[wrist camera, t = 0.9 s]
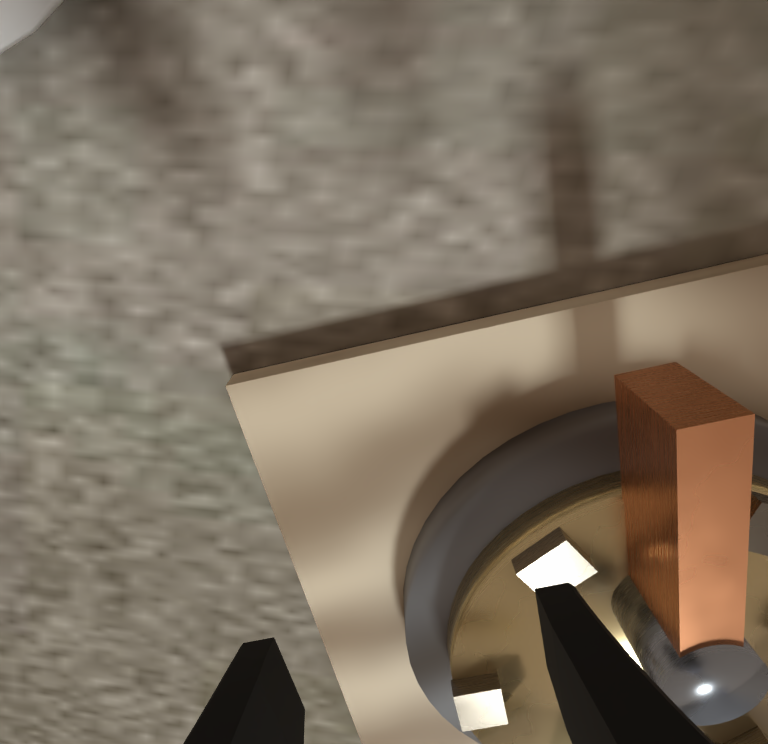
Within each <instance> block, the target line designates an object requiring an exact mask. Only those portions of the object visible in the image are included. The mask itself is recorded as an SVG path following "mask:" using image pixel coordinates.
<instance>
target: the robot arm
mask: <svg viewBox="0 0 768 744" xmlns="http://www.w3.org/2000/svg"><path fill="white" fill-rule="evenodd" d="M535 594H536V601H537V607H538V614H539V620H540V626H541V633H542V639H543V646H544V652H545V658H546V665H547V669H548V672H549V675H550V679H551V682H552V685H553V688H554V692H555V695H556V698H557V701H558V704H559V708H560V711H561V714H562V717H563V720H564V723H565V727H566V730H567V732H568V735H569V737H570V740H571V742H572V744H715V743H714V742H713V741H712V740H711V739H710V738H709V737H708V736H707V735H705V734H704V733H703V732H702V731H701V730H700V729H699V728H698V727H697V726H696V725H695V724H694V723H693V722H692V721H691V720H690V719H689V718H688V717H687V716H686V715H685V713H684V712H683V711H682V710H681V709H680V708H679V707H678V706H677V705H676V704H675V703H674V702H673V701H672V700H671V699H670V698H669V697H668V696H667V695H666V694H665V693H664V692H663V690H662V689H661V688H660V687H659V686H658V685H657V684H656V683H655V682H654V681H653V680H652V679H651V678H650V676H649V675H648V674H647V673H646V672H645V671H644V670H643V669H642V668H641V667H640V666H639V665H638V664H637V662H636V661H635V660H634V659H633V658H632V657H631V656H630V655H629V653H628V652H627V651H626V650H625V649H624V648H623V647H622V645H621V644H620V643H619V642H618V641H617V639H616V638H615V637H614V636H613V635H612V634H611V632H610V631H609V630H608V629H607V628H606V626H605V625H604V624H603V623H602V622H601V620H600V619H599V618H598V617H597V615H596V614H595V613H594V612H593V610H592V609H591V608H590V606H589V605H588V604H587V602H586V601H585V600H584V599H583V597H582V596H581V595H580V593H579V592H578V590H577V589H576V587H575V586H573V585H572V584H570V583H562V584H557V585H552V586H546V587H541V588H536V589H535ZM304 719H305V708H304V706H303V704H302V701H301V699H300V697H299V694H298V692H297V690H296V687H295V685H294V683H293V680H292V678H291V676H290V673H289V671H288V669H287V666H286V664H285V662H284V659H283V657H282V655H281V652H280V650H279V648H278V645H277V643H276V641H275V639H274V638H268V639H263V640H258V641H252V642H247V643H243V644H242V646H241V647H240V649H239V650H238V652H237V654H236V656H235V657H234V659H233V661H232V662H231V664H230V666H229V667H228V669H227V671H226V673H225V674H224V676H223V678H222V680H221V681H220V683H219V685H218V686H217V688H216V690H215V692H214V693H213V695H212V697H211V698H210V700H209V702H208V704H207V705H206V707H205V709H204V710H203V712H202V714H201V715H200V717H199V719H198V720H197V722H196V724H195V726H194V727H193V729H192V730H191V732H190V734H189V735H188V737H187V739H186V740H185V742H184V744H304Z"/></svg>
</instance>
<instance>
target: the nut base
mask: <svg viewBox="0 0 768 744" xmlns="http://www.w3.org/2000/svg"><path fill="white" fill-rule="evenodd" d="M672 362H677V363H678V364H680V365H681V366H683V367H685V368H686V369H688V370H689V371H691V372H692V373H694V374H695V375H697V376H698V377H700V378H701V379H703V380H704V381H706V382H707V383H709V384H710V385H712V386H713V387H715V388H716V389H718V390H720V391H721V392H723V393H724V394H726V395H727V396H729V397H730V398H732V399H733V400H735V401H736V402H738V403H739V404H741V405H742V406H744V407H745V408H747V409H748V410H750V411H751V412H753V413H755V425H754V445H753V466H752V474H754V475H756V476H759V477H762V478H765V479H767V480H768V254H765V255H761V256H757V257H752V258H748V259H743V260H739V261H734V262H730V263H725V264H721V265H717V266H712V267H708V268H703V269H699V270H694V271H690V272H686V273H681V274H677V275H672V276H668V277H663V278H659V279H654V280H650V281H646V282H641V283H637V284H632V285H628V286H623V287H619V288H614V289H610V290H606V291H601V292H597V293H592V294H588V295H583V296H579V297H575V298H570V299H566V300H561V301H557V302H552V303H548V304H543V305H539V306H535V307H530V308H526V309H521V310H517V311H512V312H508V313H503V314H499V315H495V316H490V317H486V318H481V319H477V320H472V321H468V322H464V323H459V324H455V325H450V326H446V327H441V328H437V329H432V330H428V331H424V332H419V333H415V334H410V335H406V336H401V337H397V338H393V339H388V340H384V341H379V342H375V343H370V344H366V345H361V346H357V347H353V348H348V349H344V350H339V351H335V352H330V353H326V354H321V355H317V356H313V357H308V358H304V359H299V360H295V361H290V362H286V363H282V364H277V365H273V366H268V367H264V368H259V369H255V370H250V371H246V372H242V373H237V374H233V376H232V377H231V379H230V380H229V382H228V383H227V385H226V388H227V391H228V394H229V396H230V399H231V402H232V404H233V407H234V409H235V412H236V415H237V417H238V420H239V423H240V425H241V428H242V430H243V433H244V436H245V438H246V441H247V443H248V446H249V449H250V451H251V454H252V457H253V459H254V462H255V464H256V467H257V470H258V472H259V475H260V478H261V480H262V483H263V485H264V488H265V491H266V493H267V496H268V499H269V501H270V504H271V506H272V509H273V512H274V514H275V517H276V520H277V522H278V525H279V527H280V530H281V533H282V535H283V538H284V540H285V543H286V546H287V548H288V551H289V554H290V556H291V559H292V561H293V564H294V567H295V569H296V572H297V575H298V577H299V580H300V582H301V585H302V588H303V590H304V593H305V596H306V598H307V601H308V603H309V606H310V609H311V611H312V614H313V616H314V619H315V622H316V624H317V627H318V630H319V632H320V635H321V637H322V640H323V643H324V645H325V648H326V651H327V653H328V656H329V658H330V661H331V664H332V666H333V669H334V672H335V674H336V677H337V679H338V682H339V685H340V687H341V690H342V692H343V695H344V698H345V700H346V703H347V706H348V708H349V711H350V713H351V716H352V719H353V721H354V724H355V727H356V729H357V732H358V734H359V737H360V740H361V742H362V744H482V743H481V742H480V741H479V739H478V738H477V737H476V736H475V735H474V734H473V732H472V731H465V732H462V729H461V725H460V721H459V717H458V714H457V710H456V706H455V702H454V698H453V693H452V686H451V680H452V674H451V668H450V661H449V655H448V648H447V625H448V620H449V615H450V610H451V605H452V603H453V600H454V597H455V595H456V592H457V589H458V587H459V585H460V583H461V582H462V580H463V578H464V576H465V574H466V573H467V571H468V569H469V567H470V566H471V565H472V563H473V562H474V561H475V559H476V558H477V557H478V556H479V554H480V553H481V552H482V550H483V549H484V548H485V547H486V546H487V545H488V544H489V543H490V542H491V541H492V540H493V539H494V538H495V537H496V536H497V535H498V534H499V533H500V532H501V531H502V530H503V529H504V528H505V527H507V526H508V525H509V524H510V523H512V522H513V521H514V520H515V519H517V518H518V517H519V516H520V515H522V514H523V513H524V512H526V511H528V510H529V509H531V508H532V507H534V506H536V505H537V504H539V503H540V502H542V501H543V500H545V499H547V498H549V497H551V496H553V495H555V494H557V493H559V492H561V491H563V490H565V489H567V488H569V487H571V486H573V485H576V484H579V483H582V482H584V481H587V480H590V479H592V478H595V477H598V476H601V475H604V474H608V473H612V472H616V471H620V458H619V443H618V427H617V412H616V397H615V382H614V375H616V374H621V373H626V372H630V371H635V370H640V369H644V368H649V367H654V366H658V365H663V364H668V363H672Z"/></svg>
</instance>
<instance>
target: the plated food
mask: <svg viewBox="0 0 768 744" xmlns="http://www.w3.org/2000/svg"><path fill="white" fill-rule="evenodd" d="M63 1H64V0H0V54H1V53H3V52H5V51H6V50H8V49H9V48H11V47H12V46H14V45H16V44H17V43H19V42H20V41H22V40H23V39H25V38H27V37H28V36H30V35H31V34H33V33H34V32H36V30H37V29H38V28H39V27H40V26H41V25H42V24H43V23H44V22H45V21H46V20H47V19H48V17H49V16H50V15H51V14H52V13H53V12H54V11H55V10H56V9H57V8H58V7H59V6H60V4H61V3H62V2H63Z"/></svg>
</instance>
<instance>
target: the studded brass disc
mask: <svg viewBox="0 0 768 744" xmlns="http://www.w3.org/2000/svg"><path fill="white" fill-rule="evenodd" d="M614 382H615V397H616V412H617V427H618V443H619V458H620V471H616V472H612V473H608V474H604V475H601V476H598V477H595V478H592V479H590V480H587V481H584V482H582V483H579V484H576V485H573V486H571V487H569V488H567V489H565V490H563V491H561V492H559V493H557V494H555V495H553V496H551V497H549V498H547V499H545V500H543V501H542V502H540V503H539V504H537V505H536V506H534V507H532V508H531V509H529V510H528V511H526V512H524V513H523V514H522V515H520V516H519V517H518V518H517V519H515V520H514V521H513V522H512V523H510V524H509V525H508V526H507V527H505V528H504V529H503V530H502V531H501V532H500V533H499V534H498V535H497V536H496V537H495V538H494V539H493V540H492V541H491V542H490V543H489V544H488V545H487V546H486V547H485V548H484V549H483V550H482V552H481V553H480V554H479V556H478V557H477V558H476V559H475V561H474V562H473V563H472V565H471V566H470V567H469V569H468V571H467V573H466V574H465V576H464V578H463V580H462V582H461V583H460V585H459V587H458V589H457V592H456V595H455V597H454V600H453V603H452V605H451V610H450V615H449V620H448V625H447V648H448V655H449V661H450V668H451V674H452V680H451V686H452V693H453V698H454V702H455V706H456V710H457V714H458V717H459V721H460V725H461V729H462V732H465V731H472V732H473V734H474V735H475V736H476V737H477V738H478V739H479V741H480V742H481V743H482V744H572V742H571V740H570V737H569V735H568V732H567V730H566V727H565V723H564V720H563V717H562V714H561V711H560V708H559V704H558V701H557V698H556V695H555V692H554V688H553V685H552V682H551V679H550V675H549V672H548V669H547V665H546V658H545V652H544V646H543V639H542V633H541V626H540V620H539V614H538V607H537V601H536V594H535V589H536V588H541V587H546V586H552V585H557V584H562V583H570V584H572V585H573V586H575V587H576V589H577V590H578V592H579V593H580V595H581V596H582V597H583V599H584V600H585V601H586V602H587V604H588V605H589V606H590V608H591V609H592V610H593V612H594V613H595V614H596V615H597V617H598V618H599V619H600V620H601V622H602V623H603V624H604V625H605V626H606V628H607V629H608V630H609V631H610V632H611V634H612V635H613V636H614V637H615V638H616V639H617V641H618V642H619V643H620V644H621V645H622V647H623V648H624V649H625V650H626V651H627V652H628V653H629V655H630V656H631V657H632V658H633V659H634V660H635V661H636V662H637V664H638V665H639V666H640V667H641V668H642V669H643V670H644V671H645V672H646V673H647V674H648V675H649V676H650V678H651V679H652V680H653V681H654V682H655V683H656V684H657V685H658V686H659V687H660V688H661V689H662V690H663V692H664V693H665V694H666V695H667V696H668V697H669V698H670V699H671V700H672V701H673V702H674V703H675V704H676V705H677V706H678V707H679V708H680V709H681V710H682V711H683V712H684V713H685V715H686V716H687V717H688V718H689V719H690V720H691V721H692V722H693V723H694V724H695V725H696V726H697V727H698V728H699V729H700V730H701V731H702V732H703V733H704V734H705V735H707V736H708V737H709V738H710V739H711V740H712V741H713V742H714V743H715V744H768V480H767V479H765V478H762V477H759V476H756V475H754V474H752V466H753V445H754V425H755V413H753V412H751V411H750V410H748V409H747V408H745V407H744V406H742V405H741V404H739V403H738V402H736V401H735V400H733V399H732V398H730V397H729V396H727V395H726V394H724V393H723V392H721V391H720V390H718V389H716V388H715V387H713V386H712V385H710V384H709V383H707V382H706V381H704V380H703V379H701V378H700V377H698V376H697V375H695V374H694V373H692V372H691V371H689V370H688V369H686V368H685V367H683V366H681V365H680V364H678V363H677V362H672V363H668V364H663V365H658V366H654V367H649V368H644V369H640V370H635V371H630V372H626V373H621V374H616V375H614Z"/></svg>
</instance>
